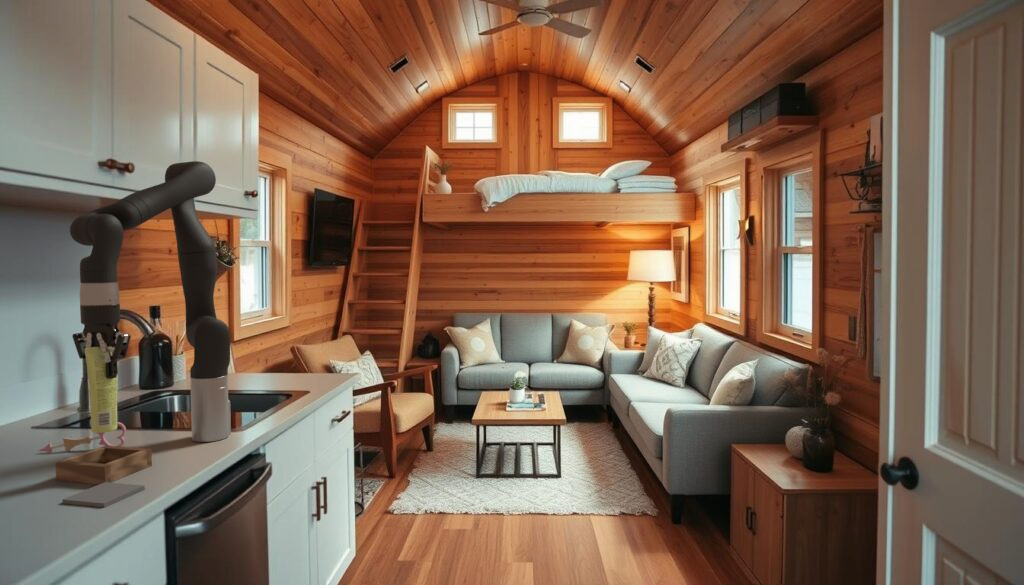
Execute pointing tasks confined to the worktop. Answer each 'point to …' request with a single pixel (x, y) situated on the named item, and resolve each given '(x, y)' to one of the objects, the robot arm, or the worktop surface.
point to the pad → (103, 494)
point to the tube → (101, 392)
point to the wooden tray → (103, 464)
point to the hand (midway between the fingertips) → (103, 377)
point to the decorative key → (85, 441)
